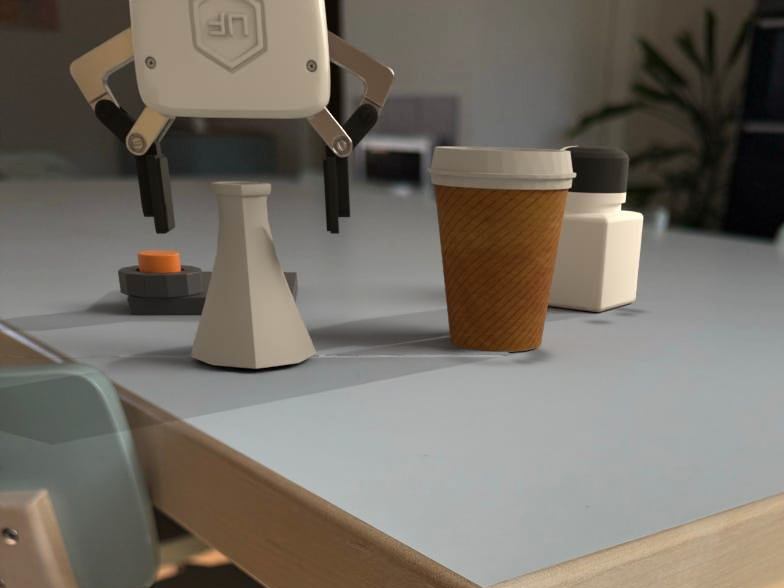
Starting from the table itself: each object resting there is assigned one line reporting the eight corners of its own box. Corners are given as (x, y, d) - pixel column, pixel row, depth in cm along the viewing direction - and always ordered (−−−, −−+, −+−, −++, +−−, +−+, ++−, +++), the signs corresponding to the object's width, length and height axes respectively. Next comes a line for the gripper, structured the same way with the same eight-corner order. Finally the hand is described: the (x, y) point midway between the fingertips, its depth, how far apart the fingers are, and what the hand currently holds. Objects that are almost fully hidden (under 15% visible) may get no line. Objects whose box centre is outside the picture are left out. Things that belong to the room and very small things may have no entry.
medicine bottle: (636, 302, 85) (651, 147, 79) (599, 313, 80) (613, 147, 74) (563, 294, 88) (573, 144, 83) (523, 303, 83) (531, 144, 77)
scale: (118, 317, 73) (112, 274, 71) (148, 287, 85) (143, 250, 84) (293, 318, 74) (291, 276, 73) (297, 288, 87) (295, 252, 85)
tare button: (136, 277, 73) (133, 255, 72) (143, 271, 75) (140, 250, 75) (178, 277, 73) (176, 255, 72) (183, 272, 76) (181, 250, 75)
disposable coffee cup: (398, 341, 67) (396, 145, 62) (491, 325, 74) (497, 146, 68) (501, 364, 62) (509, 151, 56) (592, 345, 68) (608, 152, 63)
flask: (257, 378, 57) (242, 188, 52) (169, 361, 60) (147, 181, 56) (337, 357, 62) (330, 184, 58) (252, 343, 66) (239, 177, 61)
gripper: (18, -161, 45) (83, 238, 53) (393, -142, 48) (402, 238, 56) (57, -125, 52) (109, 225, 60) (385, -110, 54) (393, 226, 62)
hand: (250, 231), depth 58 cm, fingers open, 9 cm apart
